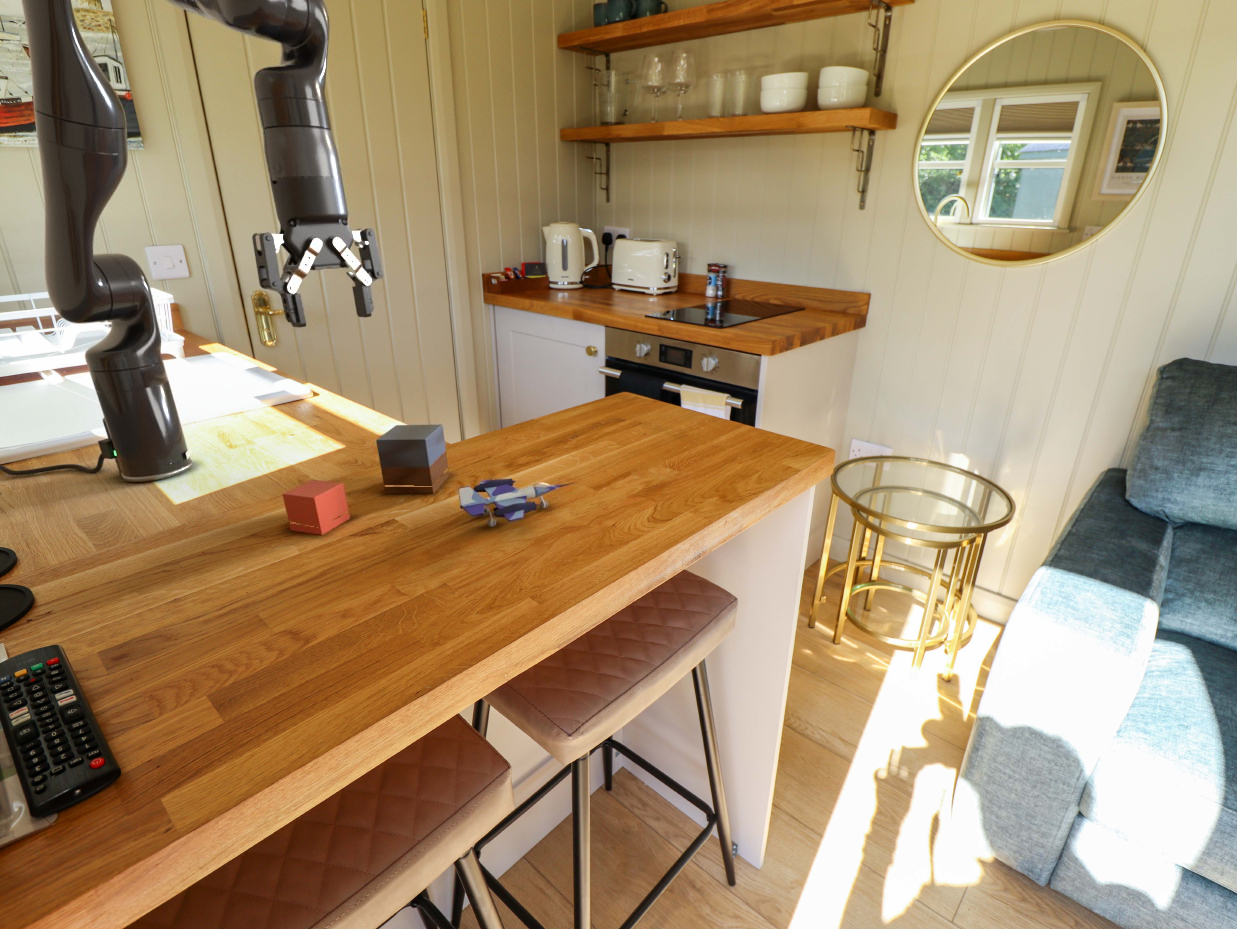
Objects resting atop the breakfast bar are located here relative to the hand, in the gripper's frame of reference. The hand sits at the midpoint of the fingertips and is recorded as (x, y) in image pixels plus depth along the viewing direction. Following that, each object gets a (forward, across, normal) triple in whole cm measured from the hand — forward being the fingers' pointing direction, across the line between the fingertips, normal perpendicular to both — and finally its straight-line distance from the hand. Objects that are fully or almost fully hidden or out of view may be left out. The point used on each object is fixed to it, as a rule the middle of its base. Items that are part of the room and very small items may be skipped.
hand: (333, 321), depth 80 cm
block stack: (+25, -9, -1) cm, 26 cm away
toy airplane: (+25, -9, +18) cm, 32 cm away
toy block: (+25, +6, -1) cm, 25 cm away
